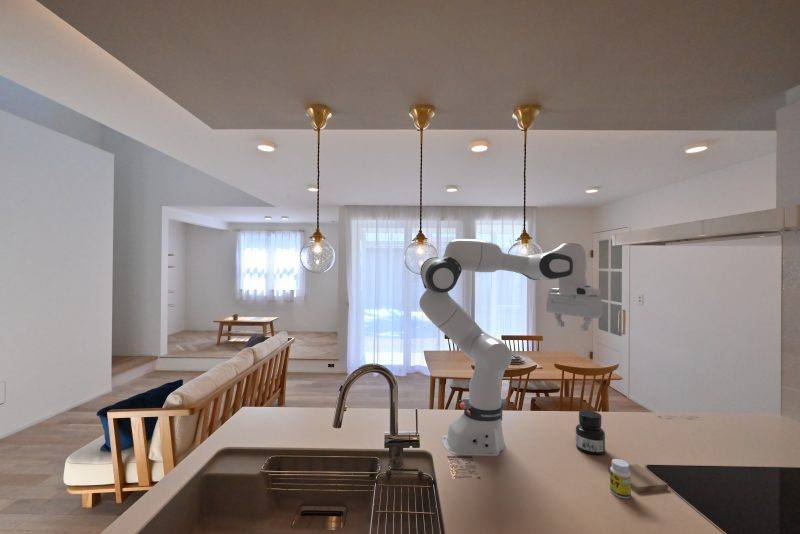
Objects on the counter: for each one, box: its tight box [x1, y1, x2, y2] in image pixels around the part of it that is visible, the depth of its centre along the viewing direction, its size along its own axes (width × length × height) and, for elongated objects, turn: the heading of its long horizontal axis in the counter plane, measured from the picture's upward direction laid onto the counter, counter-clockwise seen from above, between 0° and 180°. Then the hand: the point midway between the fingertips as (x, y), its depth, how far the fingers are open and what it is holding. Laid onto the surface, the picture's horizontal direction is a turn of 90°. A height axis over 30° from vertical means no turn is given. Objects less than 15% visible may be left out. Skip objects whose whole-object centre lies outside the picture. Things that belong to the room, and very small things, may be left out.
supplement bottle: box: [609, 458, 632, 499], centre depth 93 cm, size 5×5×8 cm
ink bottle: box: [575, 409, 606, 456], centre depth 117 cm, size 10×9×12 cm
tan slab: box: [608, 464, 669, 494], centre depth 99 cm, size 10×10×2 cm
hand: (572, 328), depth 120 cm, fingers open, 8 cm apart
